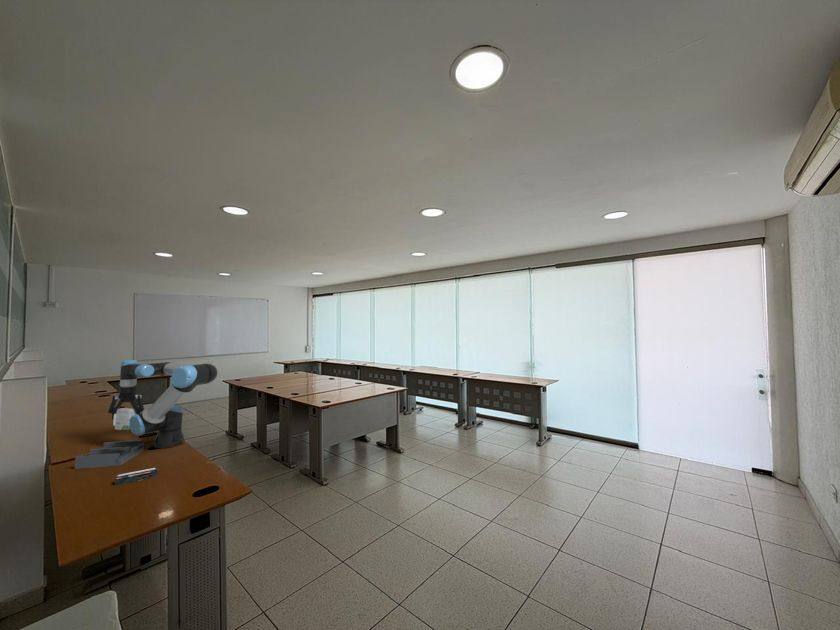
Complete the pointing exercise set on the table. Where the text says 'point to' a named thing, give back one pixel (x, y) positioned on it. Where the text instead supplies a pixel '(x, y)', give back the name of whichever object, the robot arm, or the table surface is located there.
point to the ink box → (123, 418)
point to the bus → (135, 476)
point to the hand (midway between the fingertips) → (125, 424)
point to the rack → (110, 454)
